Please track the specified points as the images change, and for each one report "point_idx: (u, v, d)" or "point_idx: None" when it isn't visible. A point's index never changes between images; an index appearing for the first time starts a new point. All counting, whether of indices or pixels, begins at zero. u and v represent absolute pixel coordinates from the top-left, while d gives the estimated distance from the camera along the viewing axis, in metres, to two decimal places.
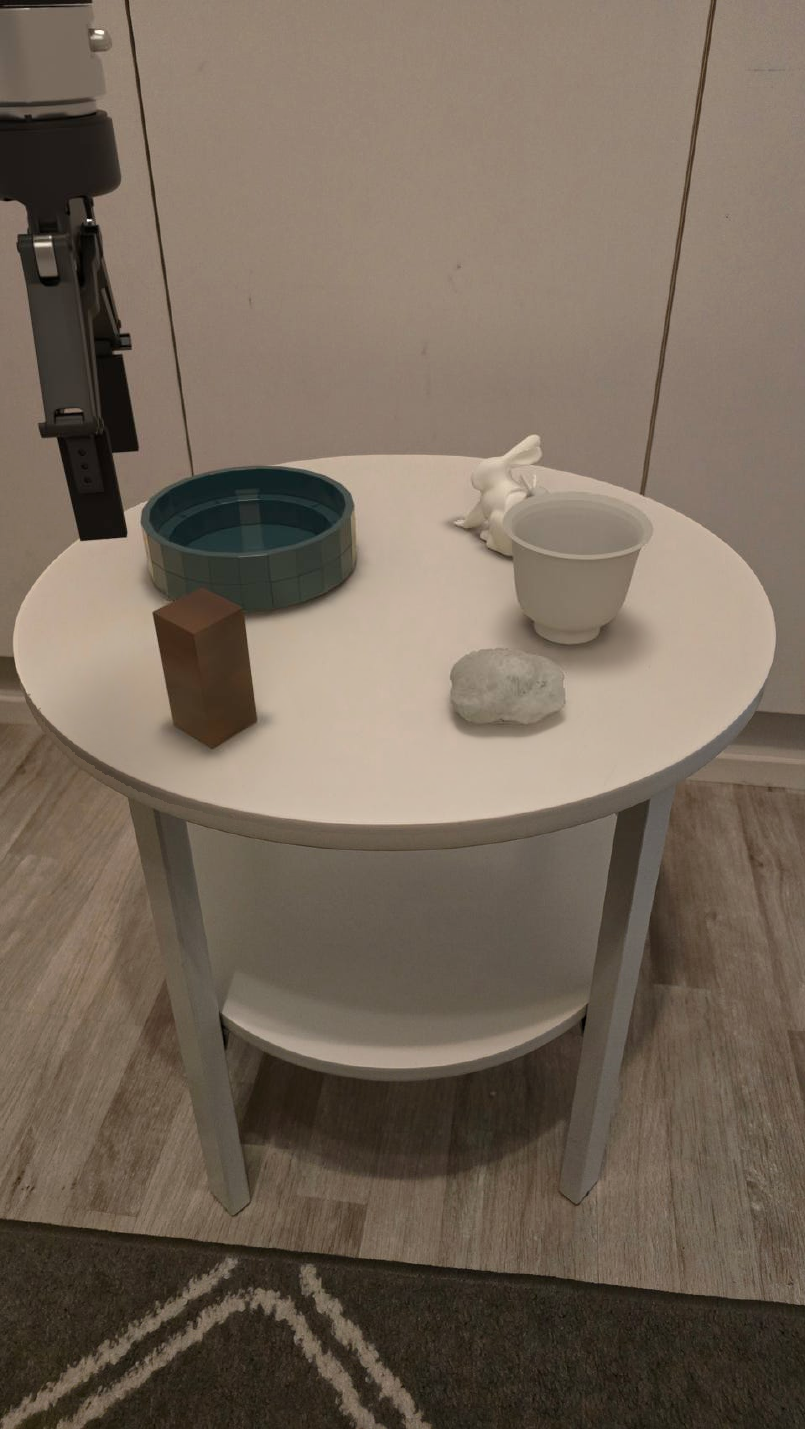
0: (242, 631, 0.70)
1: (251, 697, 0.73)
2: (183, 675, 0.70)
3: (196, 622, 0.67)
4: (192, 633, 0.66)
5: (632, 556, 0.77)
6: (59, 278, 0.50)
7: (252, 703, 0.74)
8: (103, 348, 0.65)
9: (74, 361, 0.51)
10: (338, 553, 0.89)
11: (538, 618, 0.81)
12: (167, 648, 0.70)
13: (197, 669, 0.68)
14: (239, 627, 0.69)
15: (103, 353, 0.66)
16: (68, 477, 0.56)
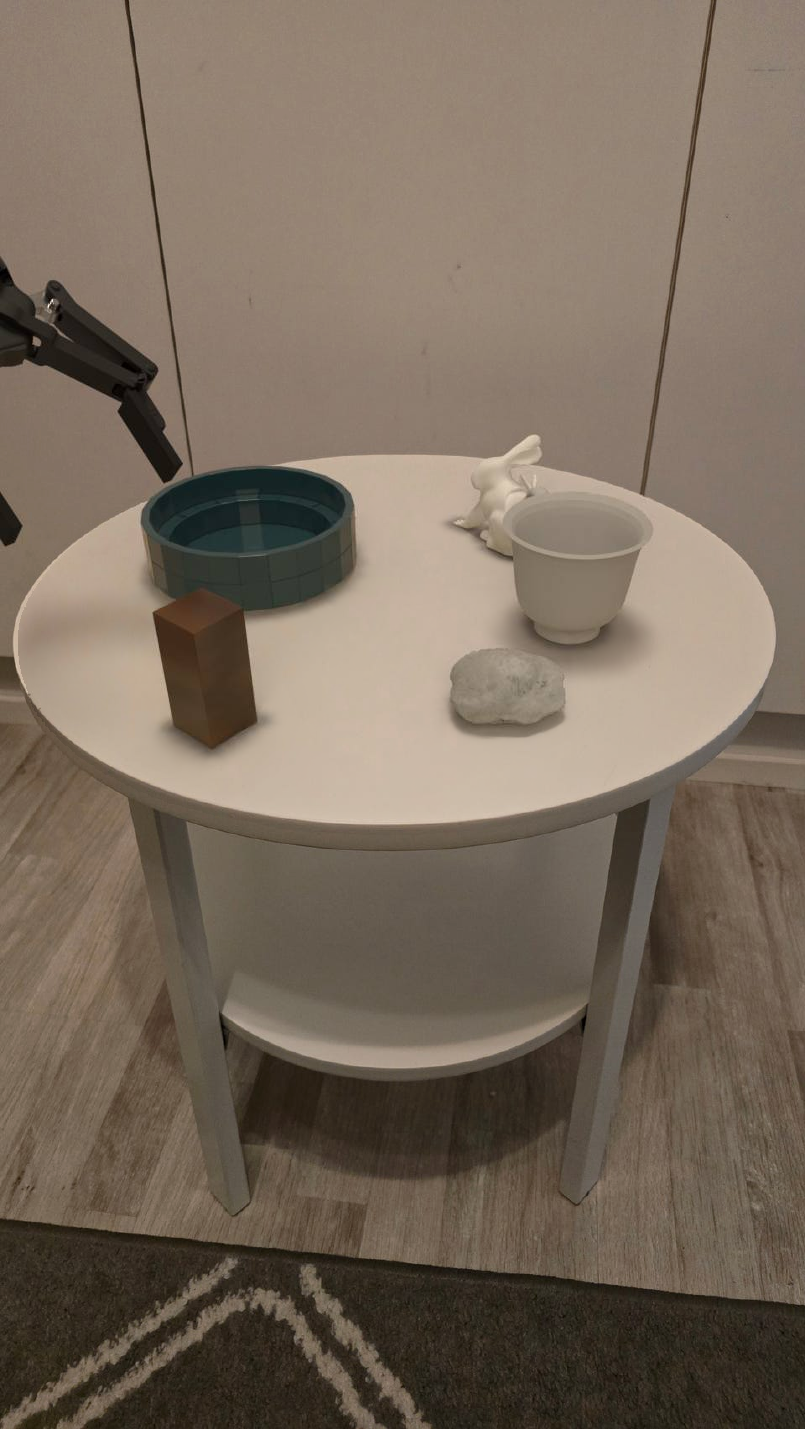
0: (242, 631, 0.70)
1: (251, 697, 0.73)
2: (183, 675, 0.70)
3: (196, 622, 0.67)
4: (192, 633, 0.66)
5: (632, 556, 0.77)
6: None
7: (252, 703, 0.74)
8: None
9: None
10: (338, 553, 0.89)
11: (538, 618, 0.81)
12: (167, 648, 0.70)
13: (197, 669, 0.68)
14: (239, 627, 0.69)
15: None
16: (153, 419, 0.74)
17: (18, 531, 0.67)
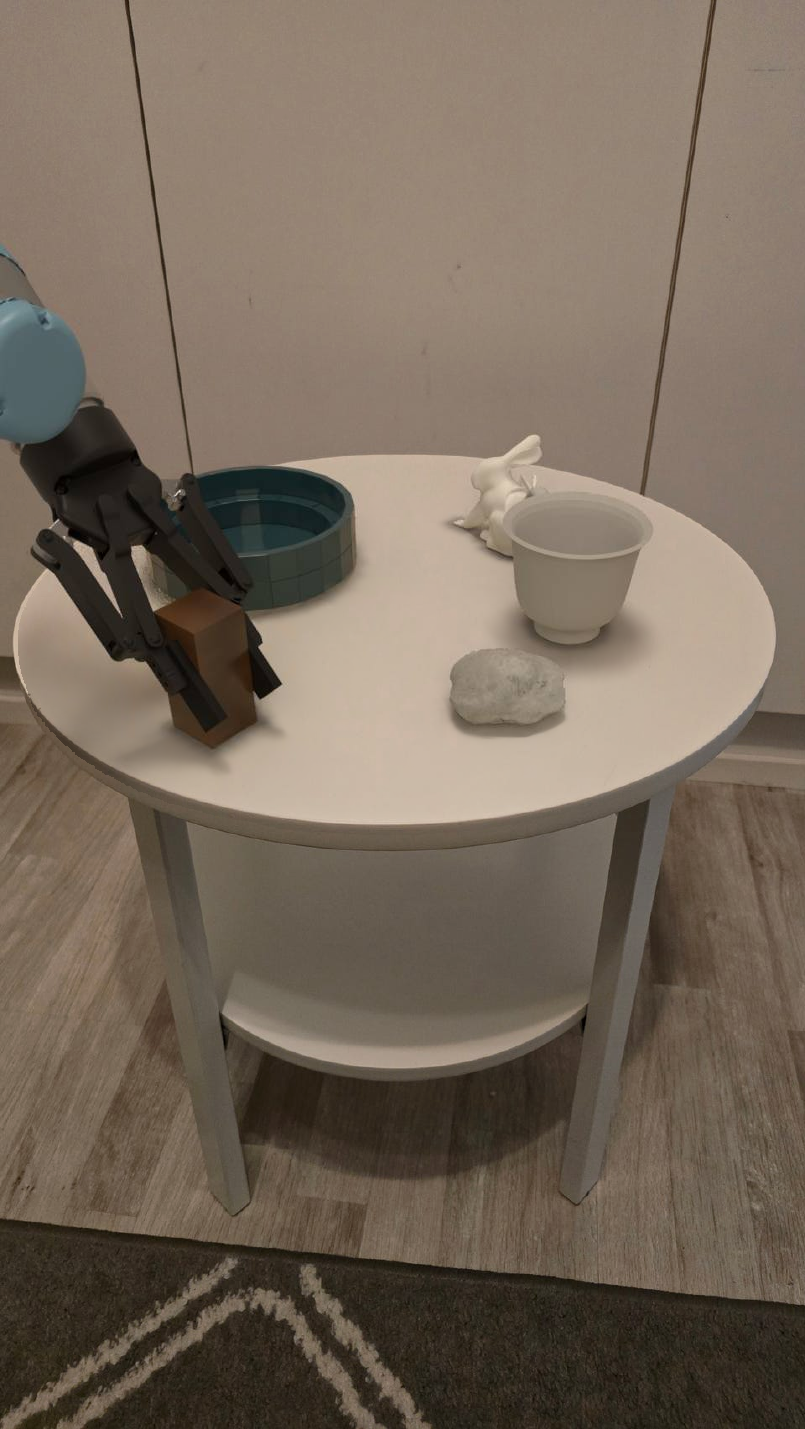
0: (242, 631, 0.70)
1: (251, 697, 0.73)
2: None
3: (196, 622, 0.67)
4: (192, 633, 0.66)
5: (632, 556, 0.77)
6: None
7: (252, 703, 0.74)
8: None
9: None
10: (338, 553, 0.89)
11: (538, 618, 0.81)
12: None
13: (197, 669, 0.68)
14: (239, 627, 0.69)
15: None
16: None
17: (222, 721, 0.69)
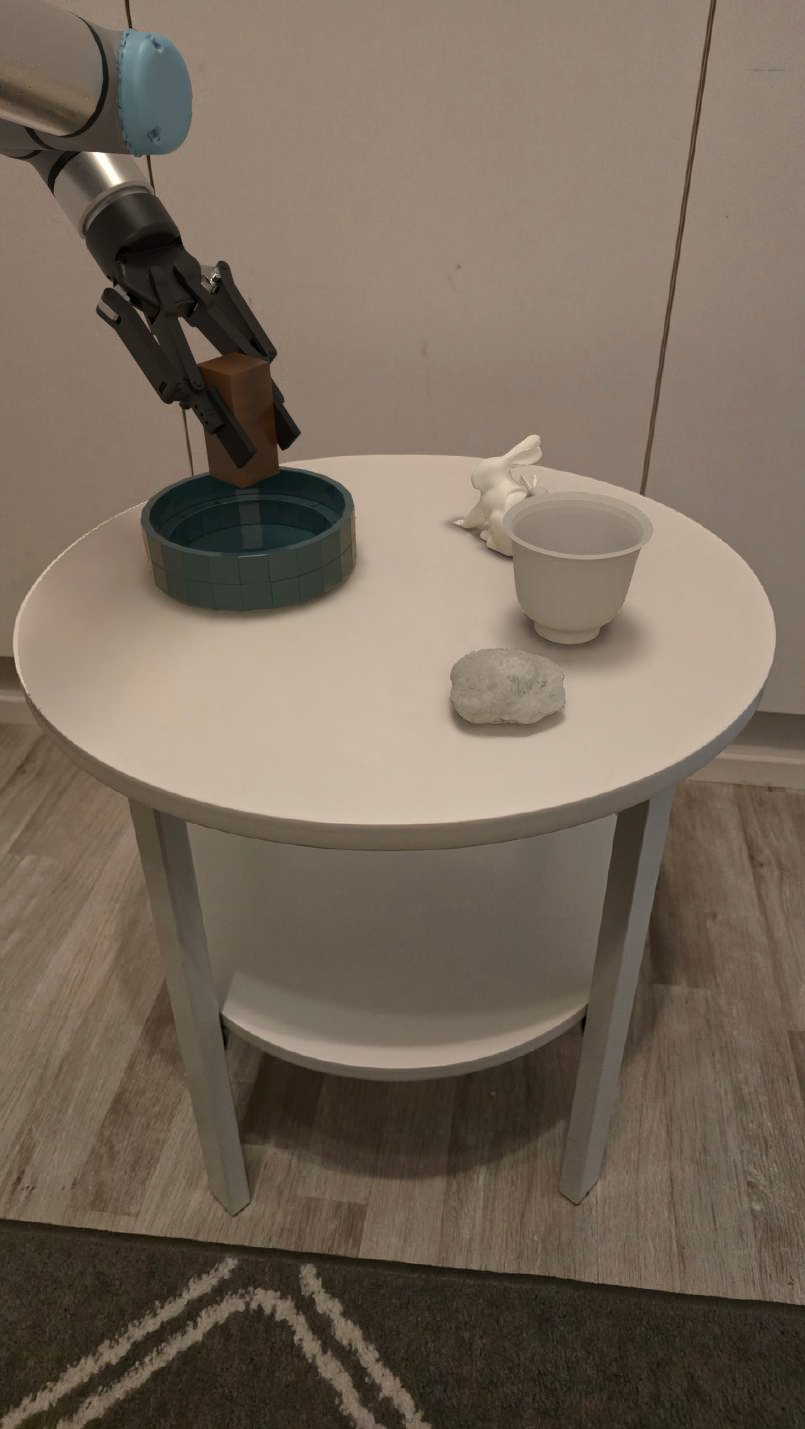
0: (268, 384, 0.85)
1: (275, 448, 0.88)
2: None
3: (232, 369, 0.82)
4: (228, 375, 0.81)
5: (632, 556, 0.77)
6: None
7: (276, 454, 0.88)
8: None
9: None
10: (338, 553, 0.89)
11: (538, 618, 0.81)
12: None
13: (232, 410, 0.83)
14: (266, 379, 0.84)
15: None
16: None
17: (252, 455, 0.84)
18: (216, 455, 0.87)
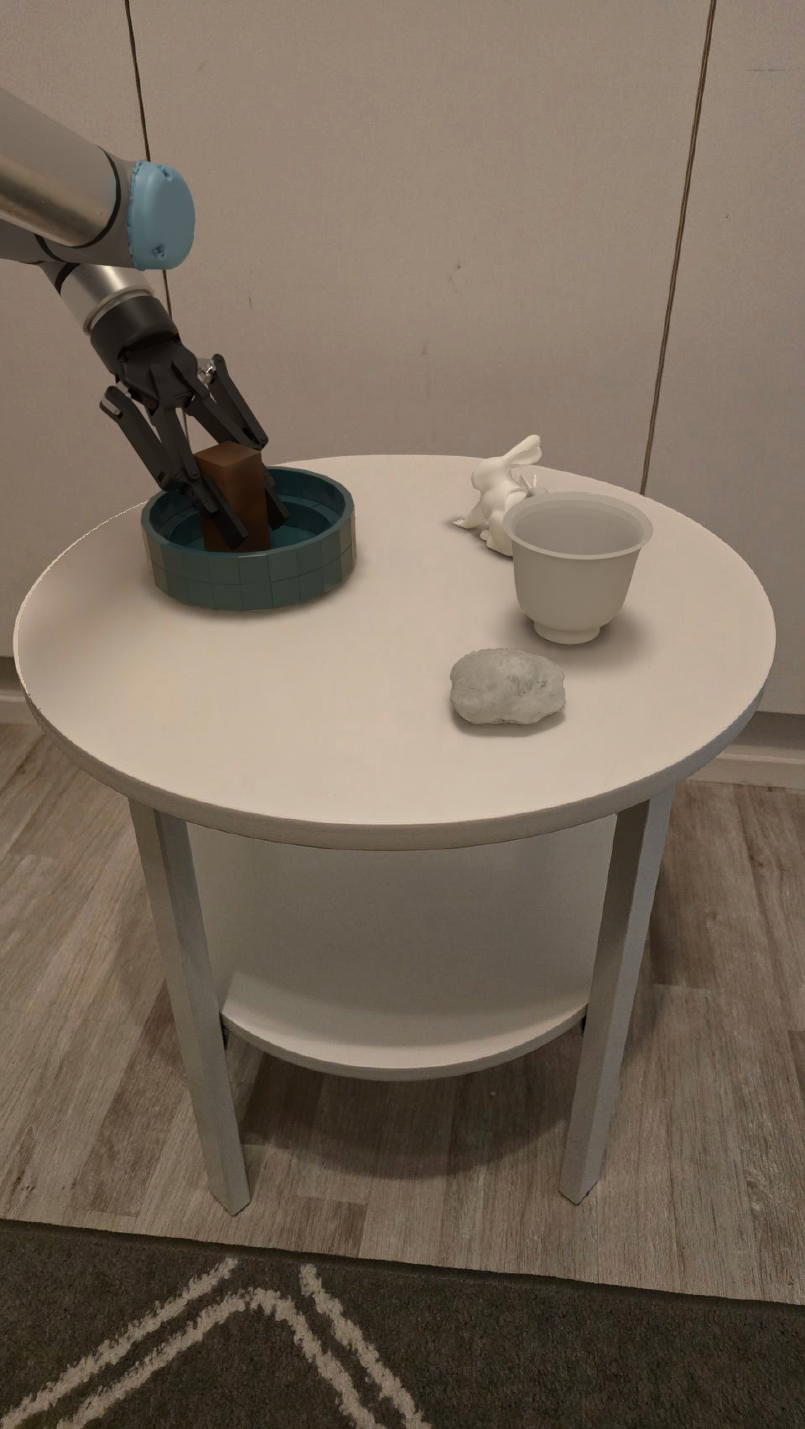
0: (260, 471, 0.91)
1: (266, 529, 0.94)
2: None
3: (225, 460, 0.88)
4: (222, 466, 0.87)
5: (632, 556, 0.77)
6: None
7: (267, 534, 0.94)
8: None
9: None
10: (338, 553, 0.89)
11: (538, 618, 0.81)
12: None
13: (226, 497, 0.89)
14: (258, 468, 0.90)
15: None
16: None
17: None
18: (211, 535, 0.93)
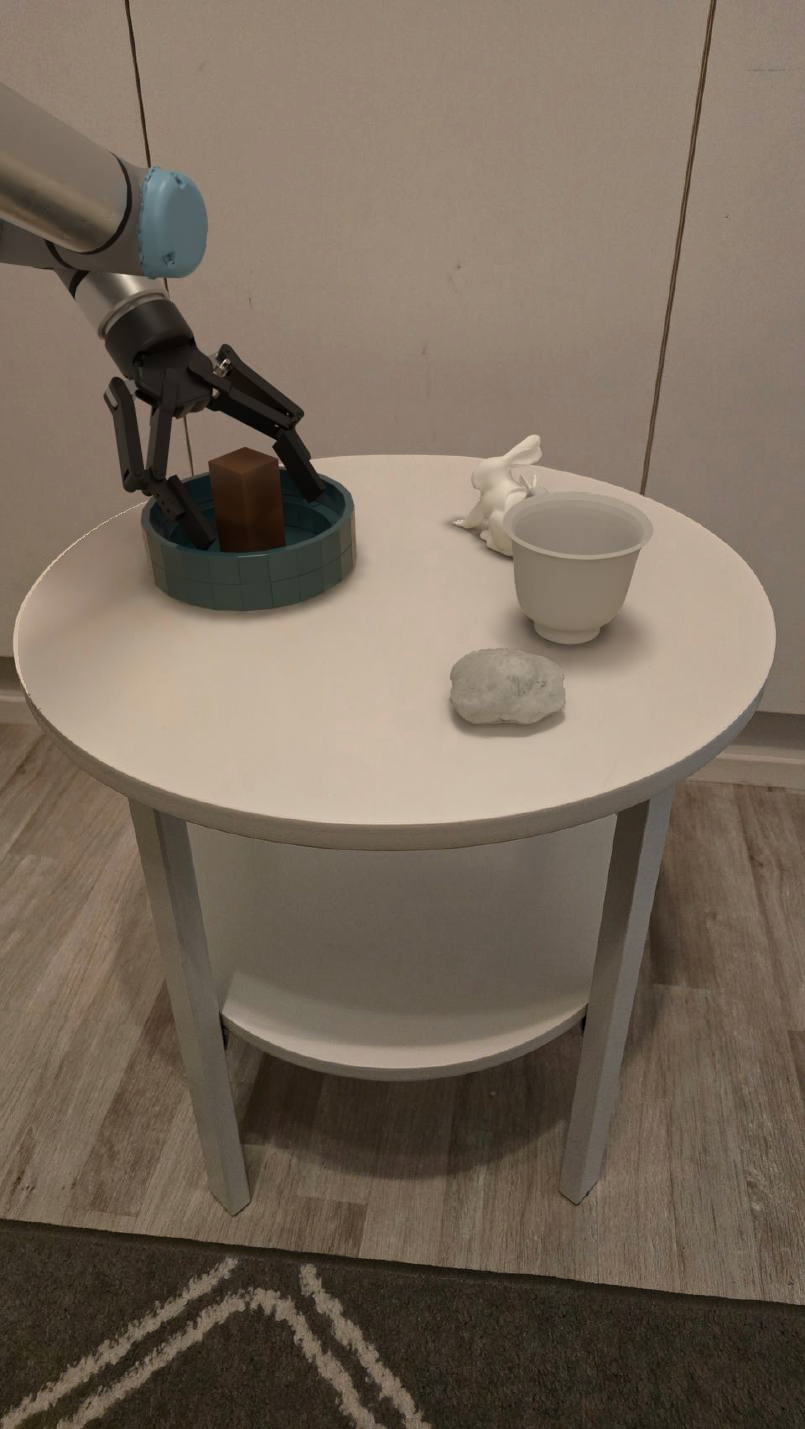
0: (277, 478, 0.90)
1: (283, 536, 0.93)
2: (231, 512, 0.90)
3: (243, 467, 0.87)
4: (240, 473, 0.86)
5: (632, 556, 0.77)
6: None
7: (283, 541, 0.94)
8: None
9: None
10: (338, 553, 0.89)
11: (538, 618, 0.81)
12: (219, 491, 0.90)
13: (243, 504, 0.88)
14: (275, 474, 0.89)
15: None
16: None
17: (213, 542, 0.86)
18: (227, 543, 0.92)
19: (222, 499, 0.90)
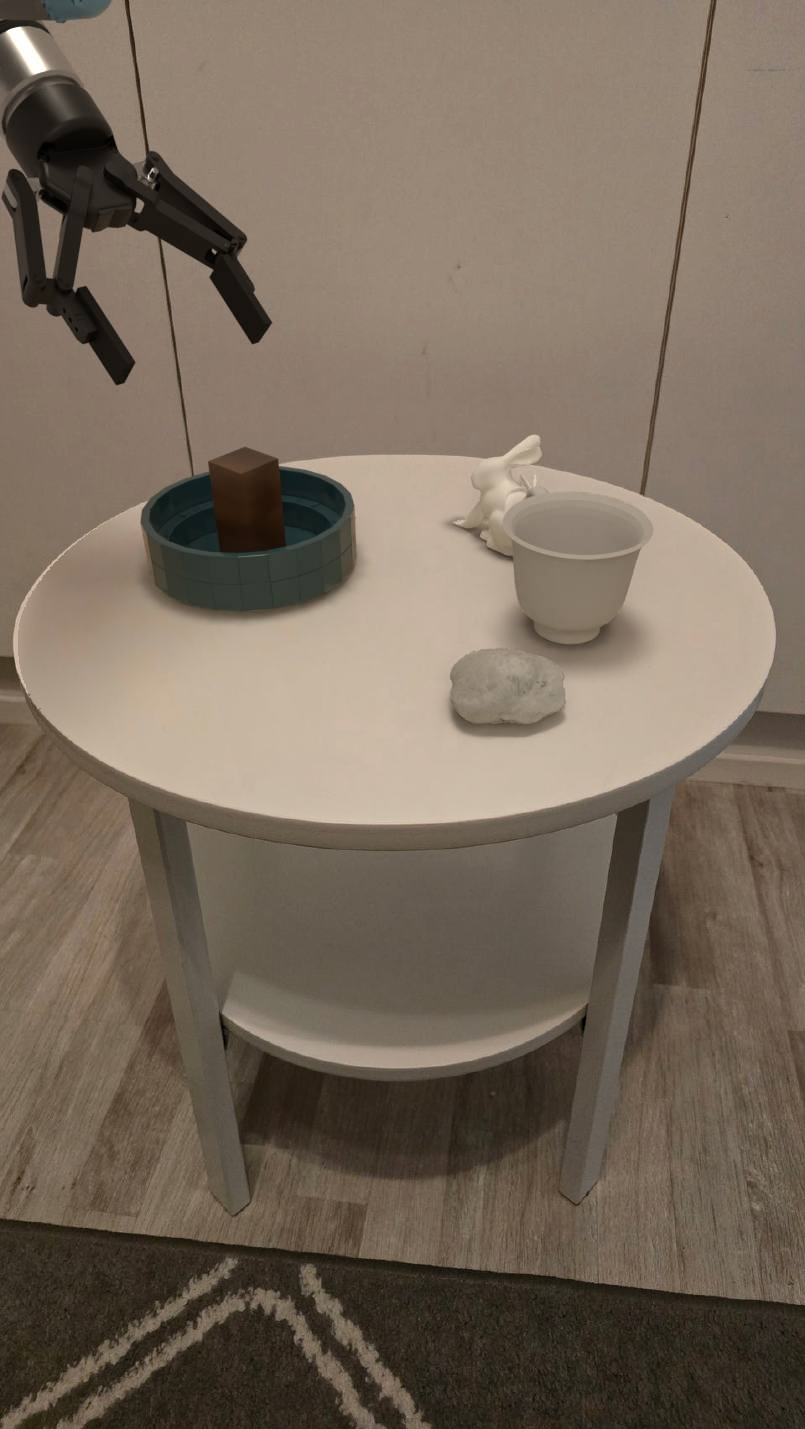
0: (277, 478, 0.90)
1: (283, 536, 0.93)
2: (231, 512, 0.90)
3: (243, 467, 0.87)
4: (240, 473, 0.86)
5: (632, 556, 0.77)
6: None
7: (283, 541, 0.94)
8: None
9: None
10: (338, 553, 0.89)
11: (538, 618, 0.81)
12: (219, 491, 0.90)
13: (243, 504, 0.88)
14: (275, 474, 0.89)
15: None
16: None
17: (131, 368, 0.72)
18: (227, 543, 0.92)
19: (222, 499, 0.90)
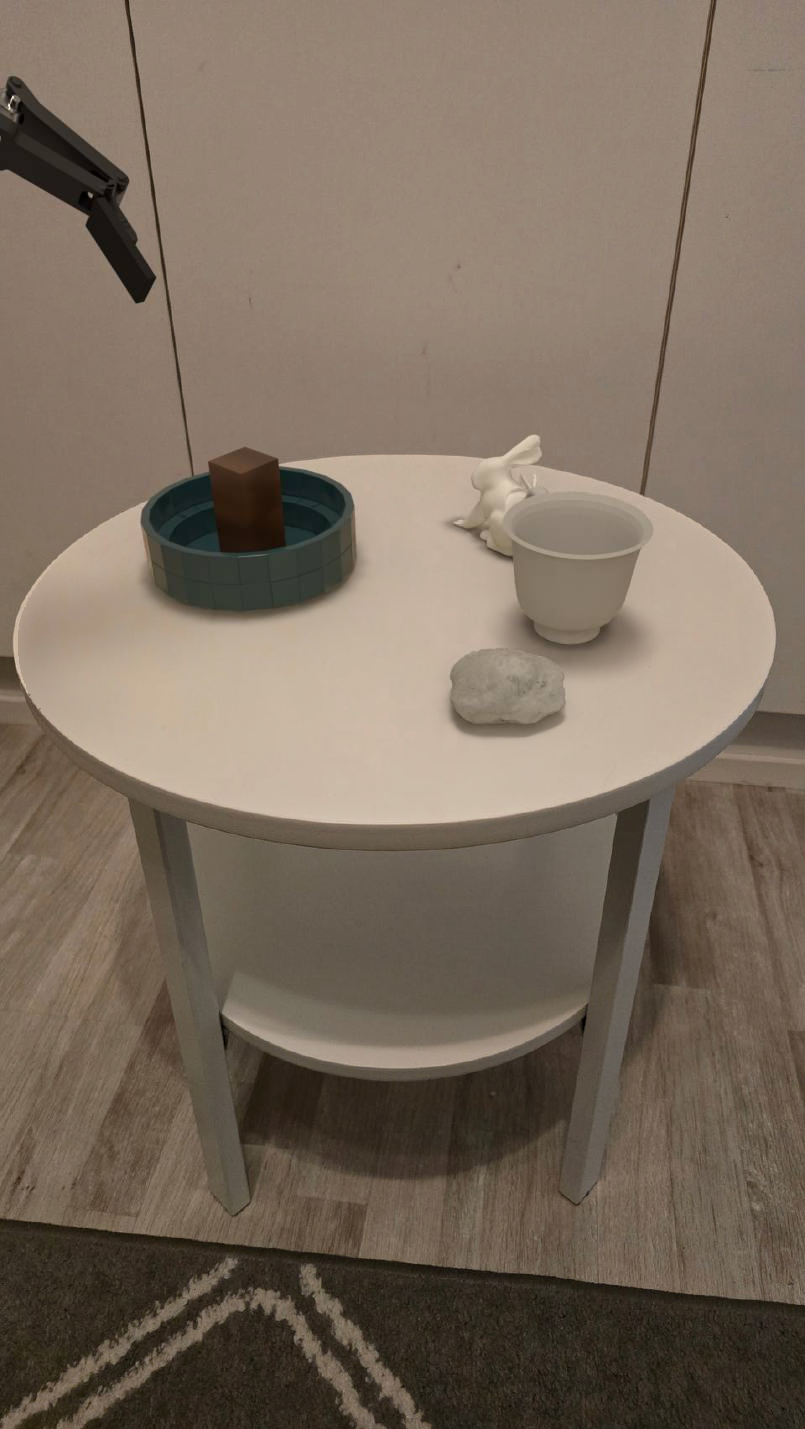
0: (277, 478, 0.90)
1: (283, 536, 0.93)
2: (231, 512, 0.90)
3: (243, 467, 0.87)
4: (240, 473, 0.86)
5: (632, 556, 0.77)
6: None
7: (283, 541, 0.94)
8: None
9: None
10: (338, 553, 0.89)
11: (538, 618, 0.81)
12: (219, 491, 0.90)
13: (243, 504, 0.88)
14: (275, 474, 0.89)
15: None
16: None
17: None
18: (227, 543, 0.92)
19: (222, 499, 0.90)
